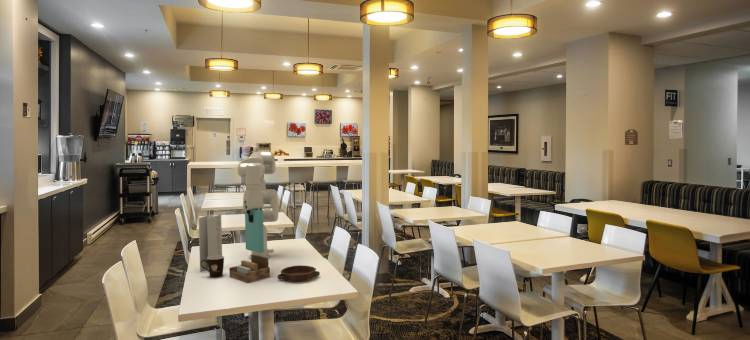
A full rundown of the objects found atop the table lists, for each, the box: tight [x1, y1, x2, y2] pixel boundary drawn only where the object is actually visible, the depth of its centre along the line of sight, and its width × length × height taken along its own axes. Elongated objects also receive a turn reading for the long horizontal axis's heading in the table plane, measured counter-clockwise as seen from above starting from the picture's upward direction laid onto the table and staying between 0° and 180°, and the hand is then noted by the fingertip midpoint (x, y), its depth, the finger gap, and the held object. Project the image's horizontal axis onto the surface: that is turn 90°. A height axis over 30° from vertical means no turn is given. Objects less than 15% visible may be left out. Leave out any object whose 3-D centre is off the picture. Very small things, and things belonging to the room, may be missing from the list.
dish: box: [276, 265, 320, 283], centre depth 245 cm, size 18×22×5 cm
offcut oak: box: [240, 259, 258, 271], centre depth 248 cm, size 2×12×8 cm, turn 49°
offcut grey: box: [236, 265, 251, 275], centre depth 245 cm, size 2×10×6 cm, turn 49°
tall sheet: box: [244, 208, 264, 253], centre depth 249 cm, size 3×12×22 cm, turn 49°
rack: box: [228, 254, 271, 284], centre depth 248 cm, size 14×16×10 cm
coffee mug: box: [199, 255, 225, 278], centre depth 251 cm, size 12×9×10 cm
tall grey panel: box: [198, 213, 223, 273], centre depth 264 cm, size 14×6×30 cm, turn 168°
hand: (254, 221), depth 249 cm, fingers closed on tall sheet, 3 cm apart
